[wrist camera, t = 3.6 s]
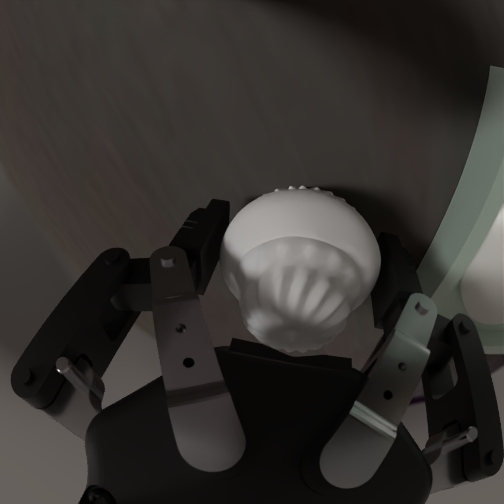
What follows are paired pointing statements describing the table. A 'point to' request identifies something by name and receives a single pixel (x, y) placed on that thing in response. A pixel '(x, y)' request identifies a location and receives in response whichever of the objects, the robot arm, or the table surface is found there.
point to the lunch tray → (474, 232)
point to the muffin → (299, 266)
